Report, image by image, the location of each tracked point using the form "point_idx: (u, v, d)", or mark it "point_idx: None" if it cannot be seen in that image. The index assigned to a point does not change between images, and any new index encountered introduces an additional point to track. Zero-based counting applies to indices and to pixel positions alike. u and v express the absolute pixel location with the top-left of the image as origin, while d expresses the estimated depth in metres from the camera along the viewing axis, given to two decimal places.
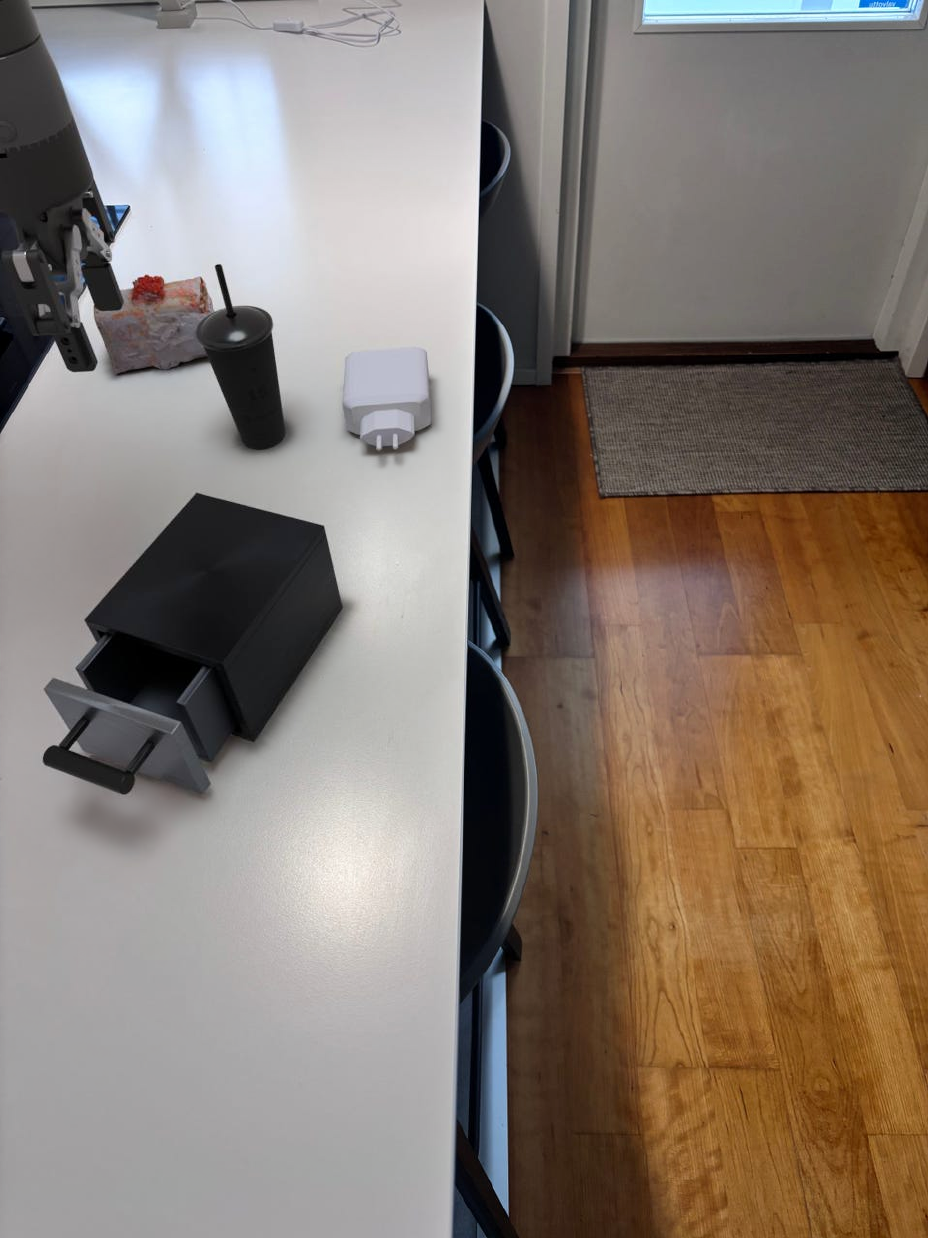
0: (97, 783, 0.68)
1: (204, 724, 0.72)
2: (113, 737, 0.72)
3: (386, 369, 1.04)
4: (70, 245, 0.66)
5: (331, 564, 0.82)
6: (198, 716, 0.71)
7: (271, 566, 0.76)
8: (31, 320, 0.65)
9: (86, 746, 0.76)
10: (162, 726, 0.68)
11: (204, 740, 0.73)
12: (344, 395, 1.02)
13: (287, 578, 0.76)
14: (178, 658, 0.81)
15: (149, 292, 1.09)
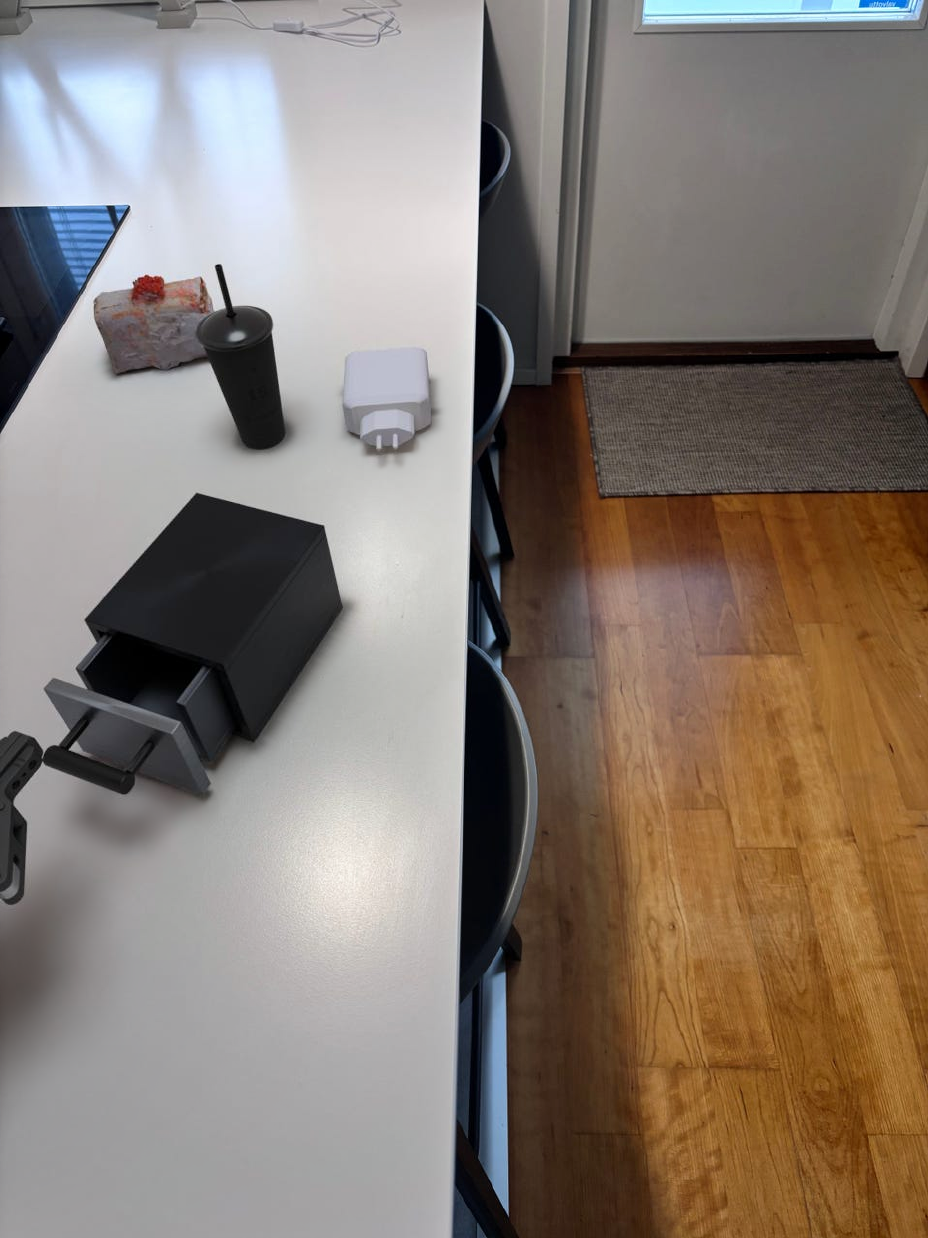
0: (97, 783, 0.68)
1: (204, 724, 0.72)
2: (113, 737, 0.72)
3: (386, 369, 1.04)
4: None
5: (331, 564, 0.82)
6: (198, 716, 0.71)
7: (271, 566, 0.76)
8: None
9: (86, 746, 0.76)
10: (162, 726, 0.68)
11: (204, 740, 0.73)
12: (344, 395, 1.02)
13: (287, 578, 0.76)
14: (178, 658, 0.81)
15: (149, 292, 1.09)
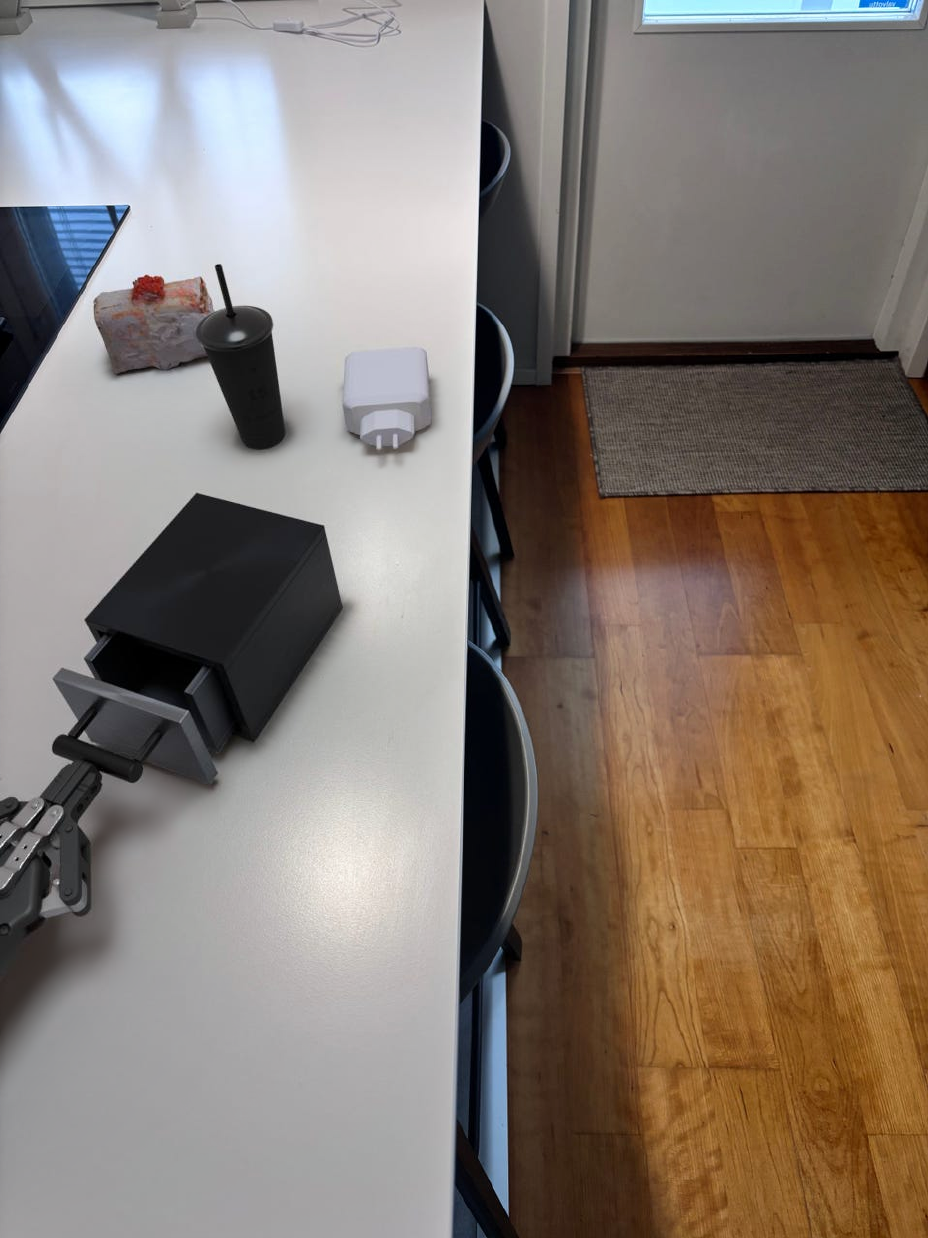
0: (106, 772, 0.68)
1: (211, 714, 0.73)
2: (121, 726, 0.73)
3: (386, 369, 1.04)
4: None
5: (331, 564, 0.82)
6: (206, 706, 0.72)
7: (271, 566, 0.76)
8: None
9: (94, 735, 0.76)
10: (171, 715, 0.68)
11: (211, 730, 0.74)
12: (344, 395, 1.02)
13: (287, 578, 0.76)
14: None
15: (149, 292, 1.09)
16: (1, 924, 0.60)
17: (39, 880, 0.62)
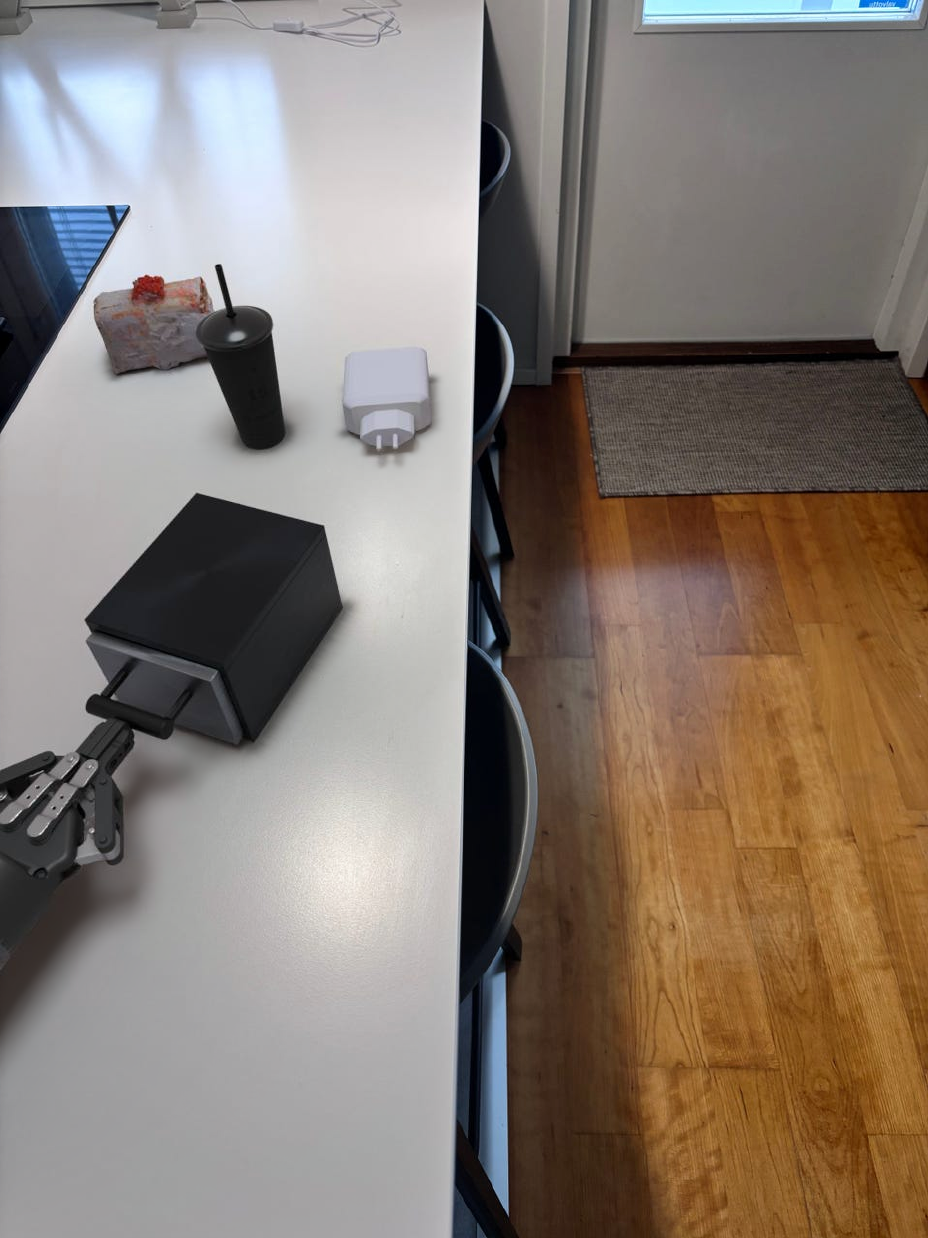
0: (138, 729, 0.71)
1: None
2: (151, 687, 0.75)
3: (386, 369, 1.04)
4: None
5: (331, 564, 0.82)
6: None
7: (271, 566, 0.76)
8: None
9: (123, 698, 0.79)
10: (201, 674, 0.71)
11: None
12: (344, 395, 1.02)
13: (287, 578, 0.76)
14: None
15: (149, 292, 1.09)
16: (38, 868, 0.62)
17: (74, 829, 0.65)
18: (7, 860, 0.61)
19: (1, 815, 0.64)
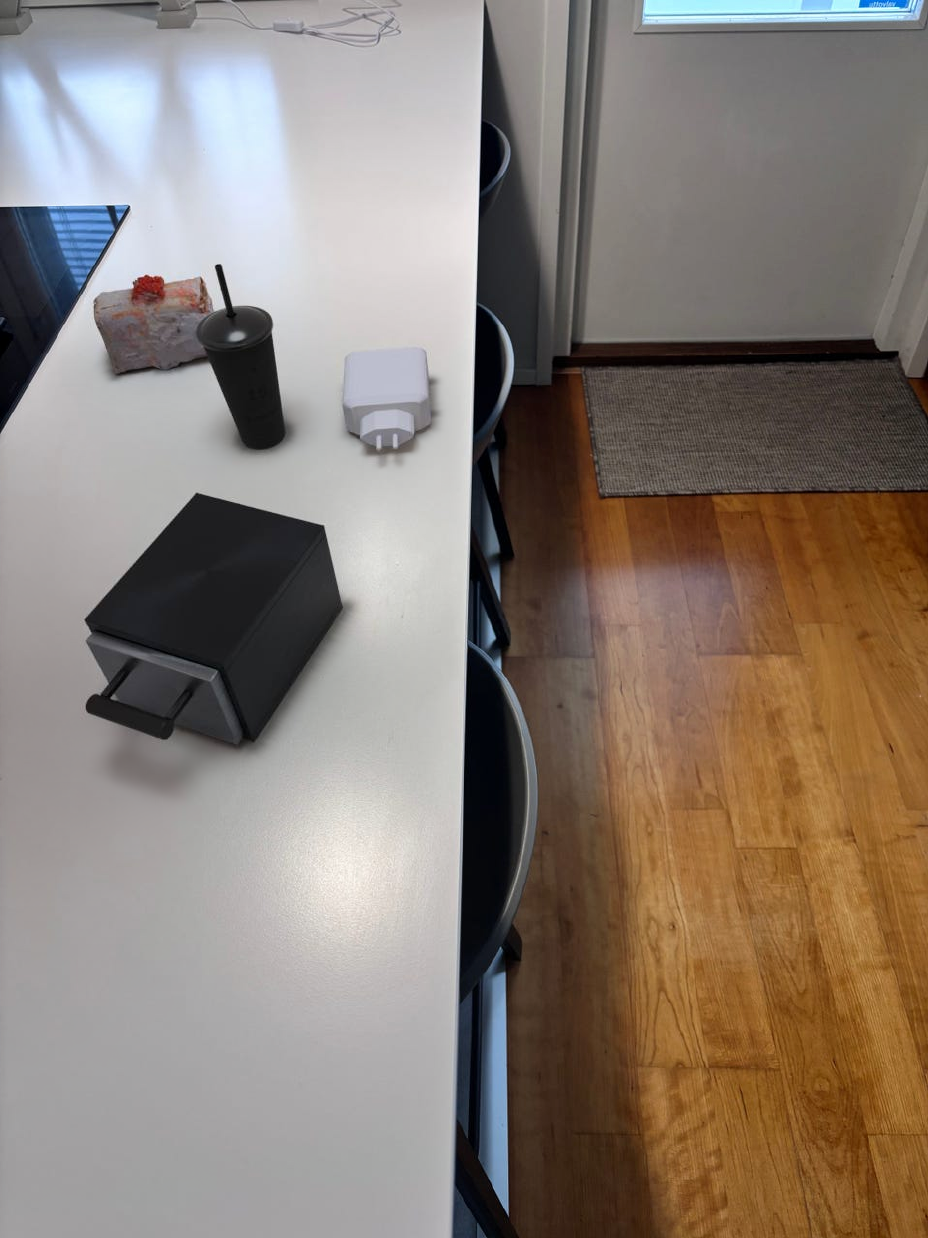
0: (138, 729, 0.71)
1: None
2: (151, 687, 0.75)
3: (386, 369, 1.04)
4: None
5: (331, 564, 0.82)
6: None
7: (271, 566, 0.76)
8: None
9: (123, 698, 0.79)
10: (201, 674, 0.71)
11: None
12: (344, 395, 1.02)
13: (287, 578, 0.76)
14: None
15: (149, 292, 1.09)
16: None
17: None
18: None
19: None
